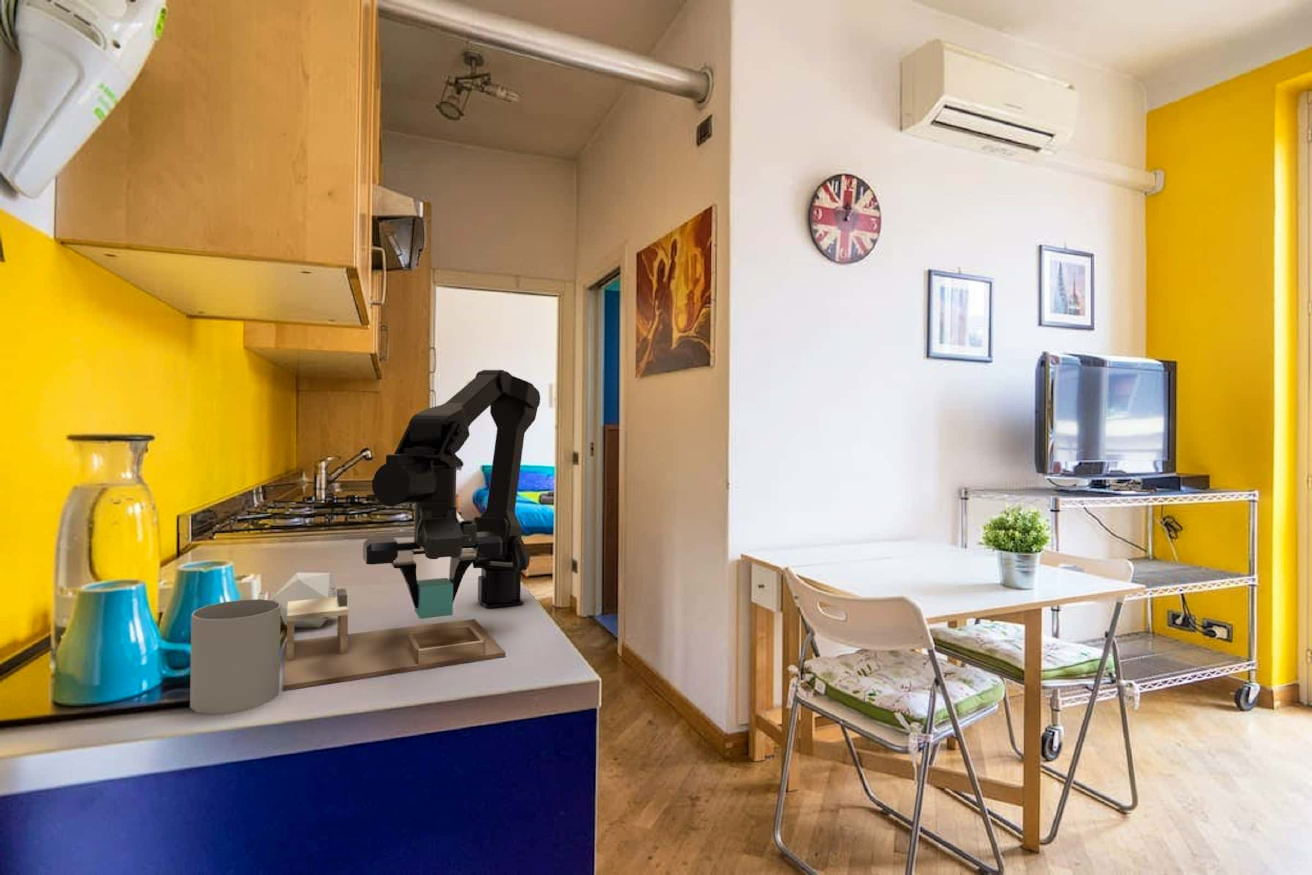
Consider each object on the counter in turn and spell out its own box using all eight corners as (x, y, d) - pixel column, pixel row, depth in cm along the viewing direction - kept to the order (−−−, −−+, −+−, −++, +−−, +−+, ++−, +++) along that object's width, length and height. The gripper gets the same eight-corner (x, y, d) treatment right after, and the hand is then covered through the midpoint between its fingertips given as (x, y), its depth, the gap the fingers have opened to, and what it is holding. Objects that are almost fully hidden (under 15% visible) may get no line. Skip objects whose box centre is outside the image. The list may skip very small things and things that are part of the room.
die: (293, 641, 94) (339, 584, 97) (249, 608, 96) (296, 553, 98) (320, 644, 102) (361, 591, 105) (278, 613, 103) (321, 562, 106)
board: (474, 622, 103) (474, 607, 103) (505, 656, 88) (505, 638, 88) (284, 646, 90) (285, 628, 90) (283, 690, 75) (283, 669, 75)
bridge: (343, 635, 93) (344, 585, 93) (347, 652, 86) (348, 598, 86) (287, 642, 89) (287, 590, 89) (286, 660, 83) (287, 603, 83)
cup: (296, 687, 76) (297, 602, 76) (236, 717, 68) (238, 622, 68) (235, 680, 78) (236, 597, 78) (170, 708, 70) (172, 615, 70)
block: (446, 607, 98) (446, 577, 98) (452, 615, 94) (453, 584, 94) (414, 610, 96) (415, 580, 96) (420, 618, 92) (420, 587, 92)
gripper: (371, 508, 83) (369, 629, 84) (514, 502, 92) (512, 612, 93) (363, 499, 93) (361, 607, 93) (493, 495, 102) (491, 594, 102)
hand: (433, 605), depth 95 cm, fingers closed on block, 4 cm apart
